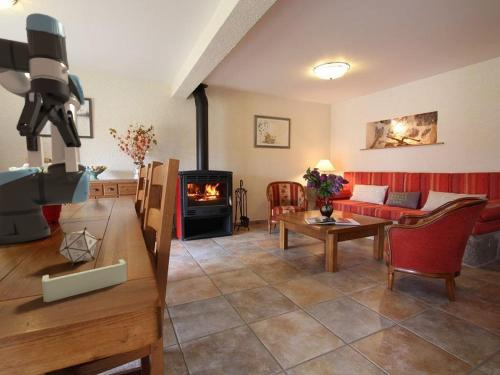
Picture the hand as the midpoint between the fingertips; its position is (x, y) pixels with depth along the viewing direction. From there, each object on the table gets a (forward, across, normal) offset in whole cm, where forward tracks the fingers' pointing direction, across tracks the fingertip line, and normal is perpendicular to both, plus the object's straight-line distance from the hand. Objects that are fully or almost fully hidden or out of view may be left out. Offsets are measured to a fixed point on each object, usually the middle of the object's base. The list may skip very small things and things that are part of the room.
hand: (56, 169), depth 63 cm
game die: (+23, -1, -5) cm, 23 cm away
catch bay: (+24, -17, -14) cm, 33 cm away
